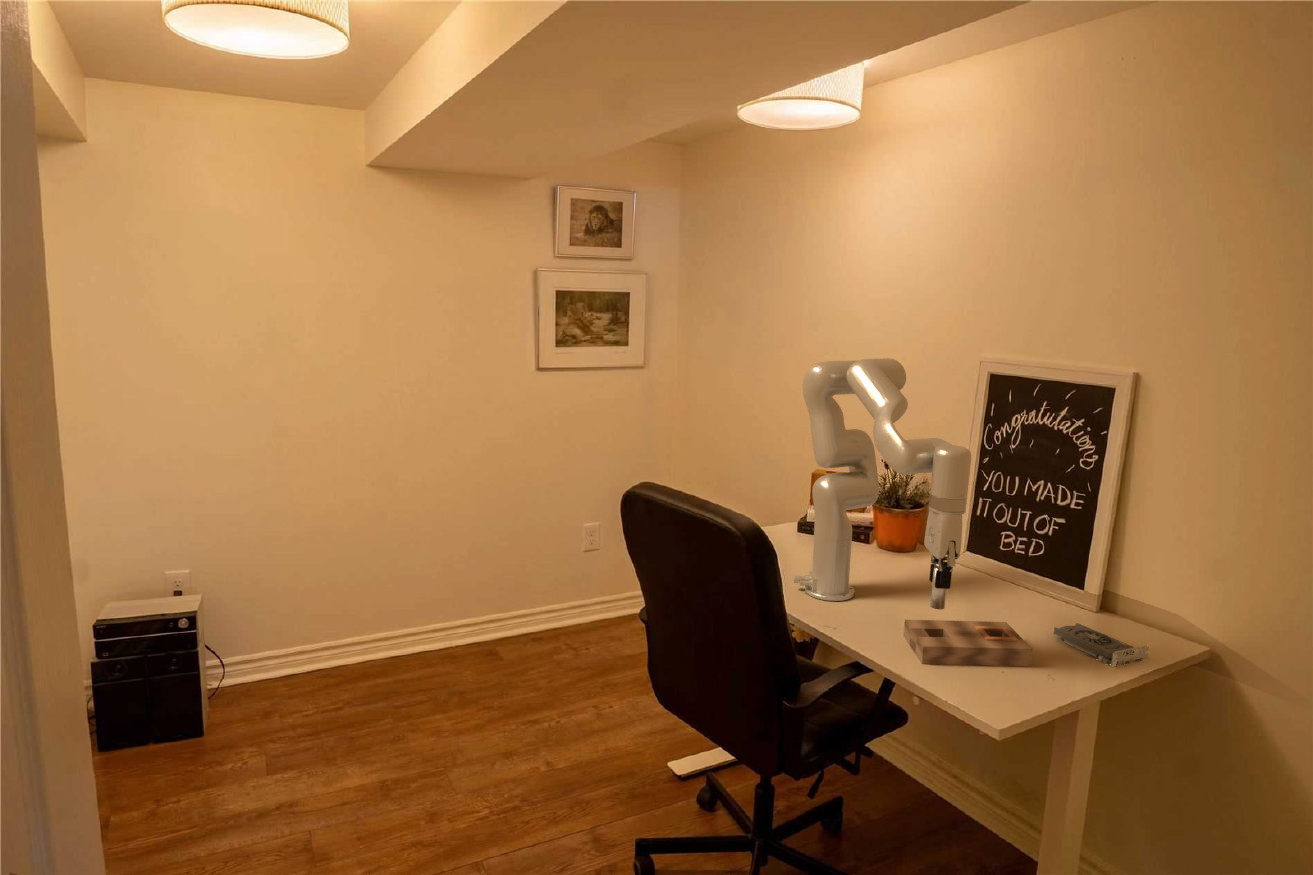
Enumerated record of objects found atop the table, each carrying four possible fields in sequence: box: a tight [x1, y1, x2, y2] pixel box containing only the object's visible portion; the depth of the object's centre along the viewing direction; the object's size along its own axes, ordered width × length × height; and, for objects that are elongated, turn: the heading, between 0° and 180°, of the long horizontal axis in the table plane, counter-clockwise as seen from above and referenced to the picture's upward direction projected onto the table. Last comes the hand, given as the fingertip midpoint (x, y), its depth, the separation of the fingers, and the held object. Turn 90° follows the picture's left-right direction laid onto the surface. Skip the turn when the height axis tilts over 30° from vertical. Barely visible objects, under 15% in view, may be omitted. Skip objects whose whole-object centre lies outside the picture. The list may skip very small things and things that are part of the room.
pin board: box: [903, 619, 1033, 668], centre depth 182 cm, size 23×14×4 cm, turn 89°
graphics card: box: [1053, 623, 1150, 669], centre depth 185 cm, size 17×4×12 cm
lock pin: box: [929, 561, 947, 610], centre depth 180 cm, size 3×3×10 cm
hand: (939, 584), depth 180 cm, fingers closed on lock pin, 3 cm apart
